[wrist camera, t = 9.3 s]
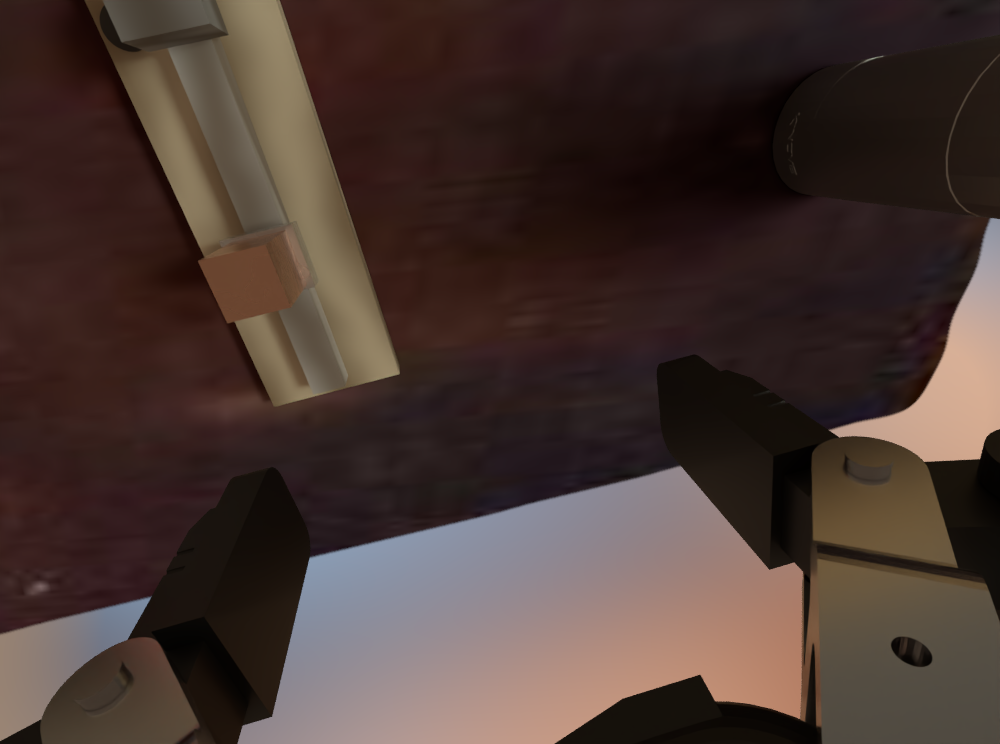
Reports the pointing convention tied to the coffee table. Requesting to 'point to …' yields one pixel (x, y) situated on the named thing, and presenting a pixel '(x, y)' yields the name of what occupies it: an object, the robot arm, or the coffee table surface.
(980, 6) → the coffee table surface
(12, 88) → the coffee table surface
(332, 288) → the bolt-hole plate
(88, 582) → the coffee table surface
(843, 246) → the coffee table surface
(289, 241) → the block
